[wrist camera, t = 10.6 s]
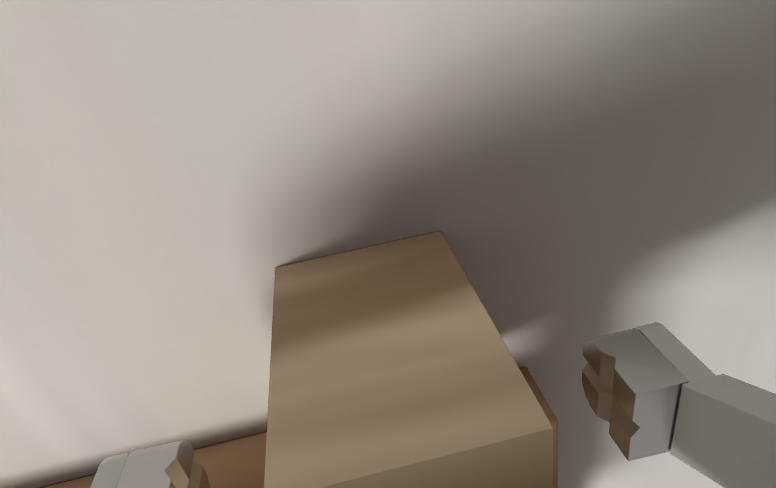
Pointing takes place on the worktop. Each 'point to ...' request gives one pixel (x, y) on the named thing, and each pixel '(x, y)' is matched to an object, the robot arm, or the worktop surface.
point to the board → (247, 456)
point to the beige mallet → (396, 378)
